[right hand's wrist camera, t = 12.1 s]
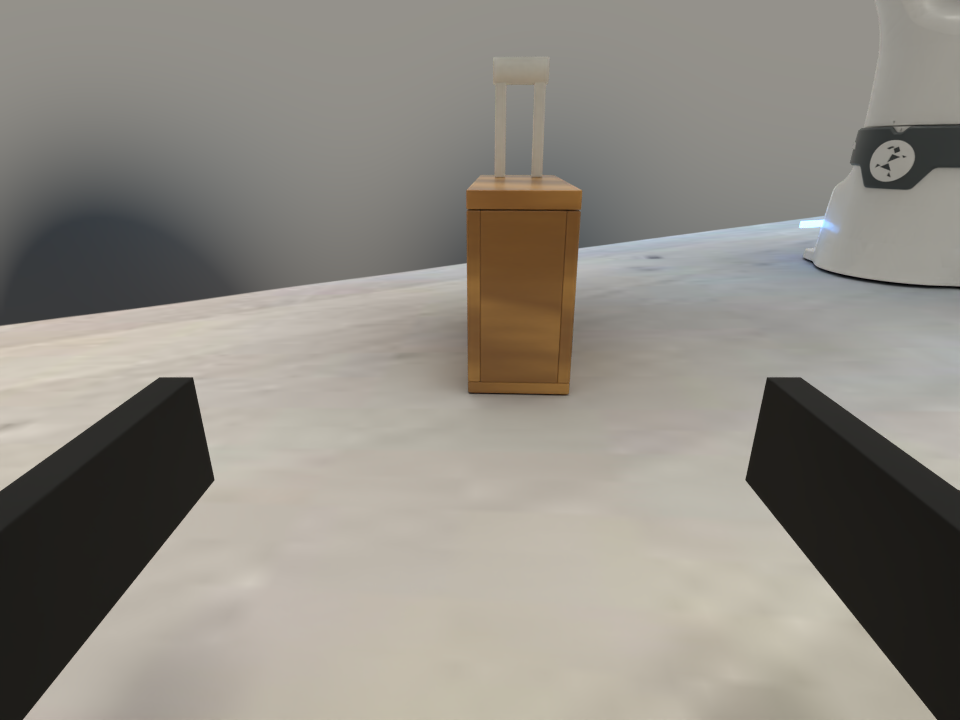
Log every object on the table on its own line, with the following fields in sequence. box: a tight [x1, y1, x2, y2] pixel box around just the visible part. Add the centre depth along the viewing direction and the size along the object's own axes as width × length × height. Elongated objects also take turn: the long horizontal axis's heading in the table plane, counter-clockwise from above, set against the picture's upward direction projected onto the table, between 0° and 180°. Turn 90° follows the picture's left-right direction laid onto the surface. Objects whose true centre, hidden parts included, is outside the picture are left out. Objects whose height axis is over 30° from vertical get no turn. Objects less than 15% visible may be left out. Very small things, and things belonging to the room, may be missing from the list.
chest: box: [467, 209, 581, 394], centre depth 34 cm, size 15×5×10 cm, turn 178°
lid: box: [466, 57, 582, 210], centre depth 31 cm, size 16×5×8 cm, turn 177°
